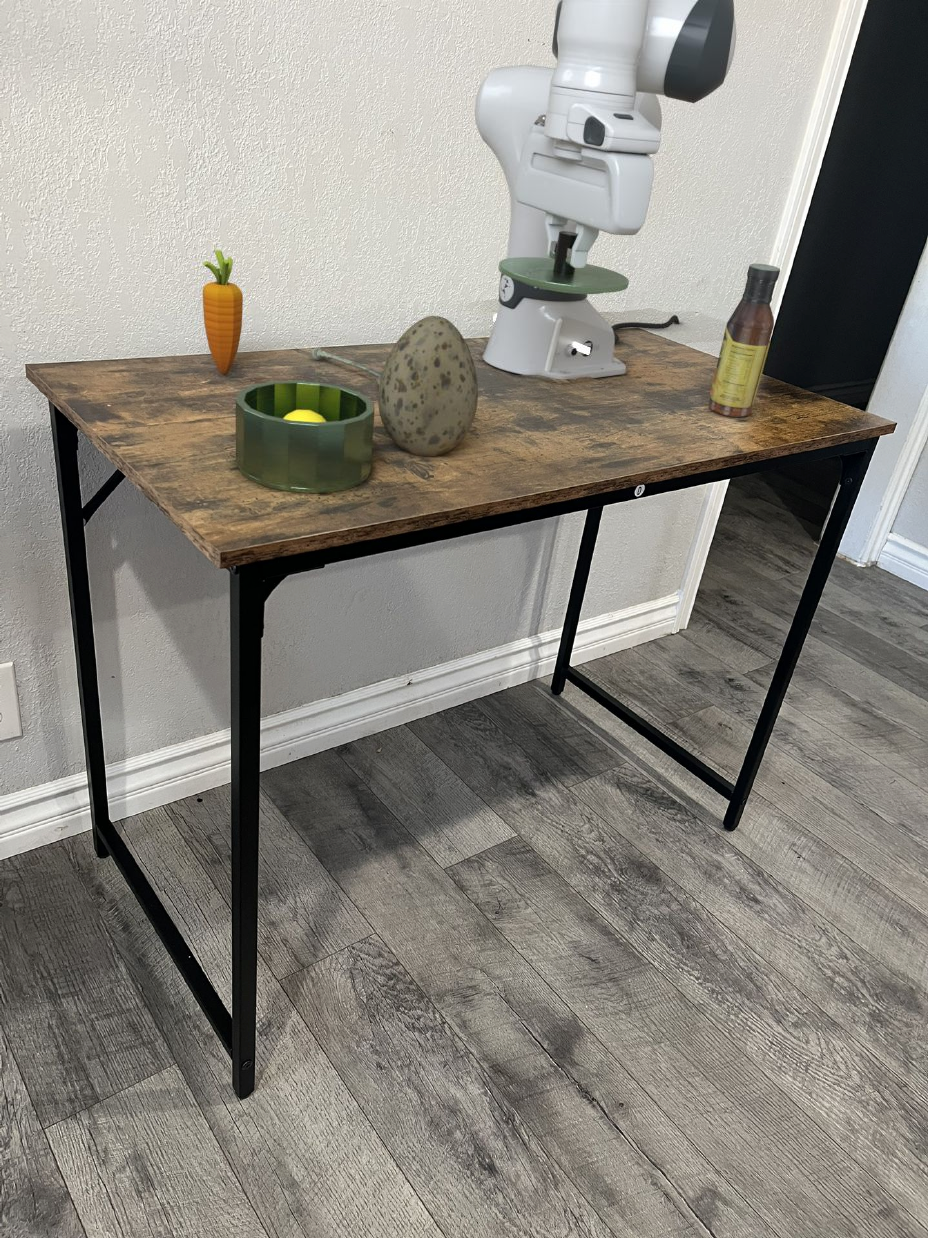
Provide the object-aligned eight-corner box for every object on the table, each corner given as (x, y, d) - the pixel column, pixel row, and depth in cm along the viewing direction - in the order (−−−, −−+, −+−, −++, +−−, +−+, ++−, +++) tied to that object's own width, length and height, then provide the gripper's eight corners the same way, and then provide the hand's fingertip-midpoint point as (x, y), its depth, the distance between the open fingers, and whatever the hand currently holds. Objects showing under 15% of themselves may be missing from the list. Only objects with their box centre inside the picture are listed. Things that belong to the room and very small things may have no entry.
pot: (340, 439, 106) (343, 378, 103) (391, 486, 96) (396, 420, 93) (220, 448, 100) (219, 383, 96) (261, 498, 90) (262, 428, 86)
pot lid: (578, 268, 115) (586, 222, 112) (653, 298, 104) (663, 248, 101) (474, 266, 108) (479, 218, 105) (542, 298, 97) (550, 245, 95)
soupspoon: (401, 414, 119) (439, 409, 123) (405, 388, 117) (443, 384, 121) (297, 360, 131) (335, 357, 135) (299, 335, 129) (337, 333, 134)
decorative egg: (468, 442, 111) (485, 311, 103) (471, 476, 101) (490, 335, 94) (376, 432, 110) (386, 299, 102) (371, 466, 100) (381, 322, 93)
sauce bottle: (721, 402, 138) (758, 259, 128) (758, 415, 134) (799, 269, 124) (696, 408, 134) (733, 261, 124) (735, 422, 130) (775, 271, 120)
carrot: (238, 382, 120) (238, 257, 112) (199, 377, 120) (196, 252, 112) (246, 371, 124) (247, 251, 117) (209, 366, 124) (206, 246, 116)
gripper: (510, 109, 104) (494, 242, 111) (621, 132, 89) (595, 284, 96) (557, 114, 107) (539, 243, 114) (673, 137, 92) (643, 284, 99)
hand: (565, 262), depth 105 cm, fingers closed on pot lid, 2 cm apart
